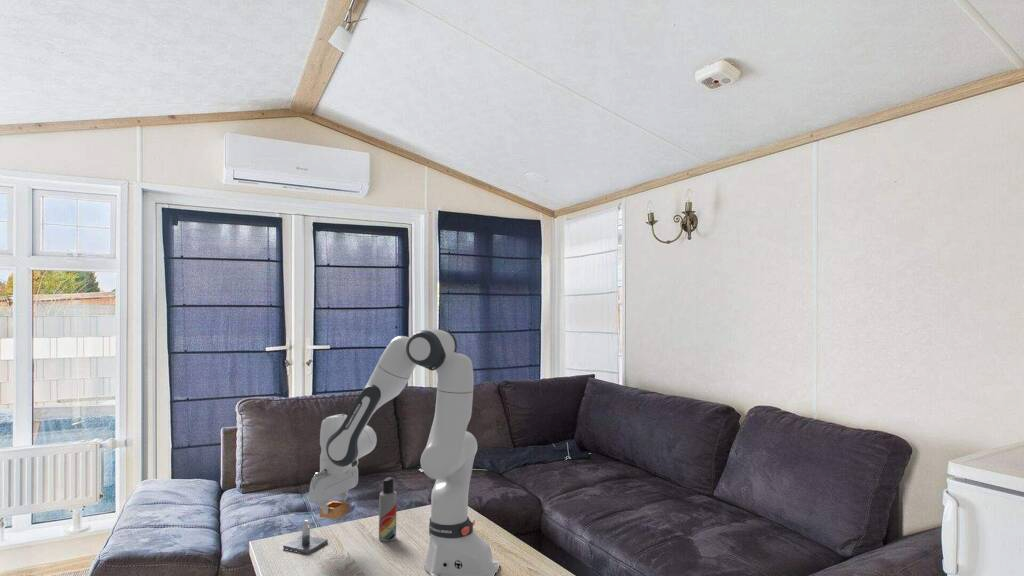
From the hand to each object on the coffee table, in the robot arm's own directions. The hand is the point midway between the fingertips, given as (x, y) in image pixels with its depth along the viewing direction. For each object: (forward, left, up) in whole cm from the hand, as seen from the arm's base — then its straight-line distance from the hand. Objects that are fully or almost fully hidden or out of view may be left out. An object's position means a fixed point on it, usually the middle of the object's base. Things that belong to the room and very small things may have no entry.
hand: (334, 509), depth 174 cm
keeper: (+10, +1, -13) cm, 16 cm away
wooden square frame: (0, 0, -2) cm, 2 cm away
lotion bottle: (-11, -14, -13) cm, 22 cm away
